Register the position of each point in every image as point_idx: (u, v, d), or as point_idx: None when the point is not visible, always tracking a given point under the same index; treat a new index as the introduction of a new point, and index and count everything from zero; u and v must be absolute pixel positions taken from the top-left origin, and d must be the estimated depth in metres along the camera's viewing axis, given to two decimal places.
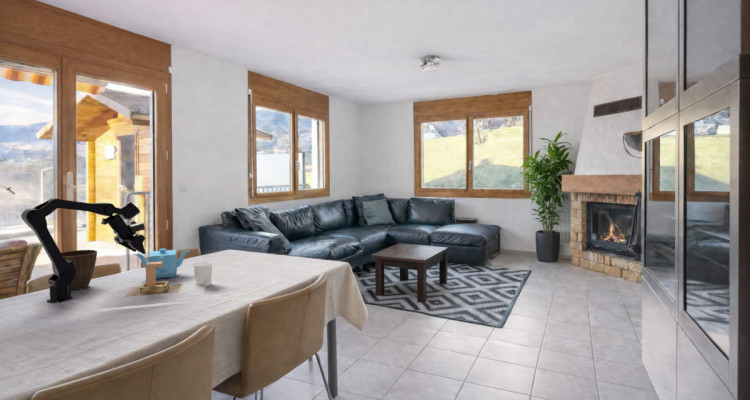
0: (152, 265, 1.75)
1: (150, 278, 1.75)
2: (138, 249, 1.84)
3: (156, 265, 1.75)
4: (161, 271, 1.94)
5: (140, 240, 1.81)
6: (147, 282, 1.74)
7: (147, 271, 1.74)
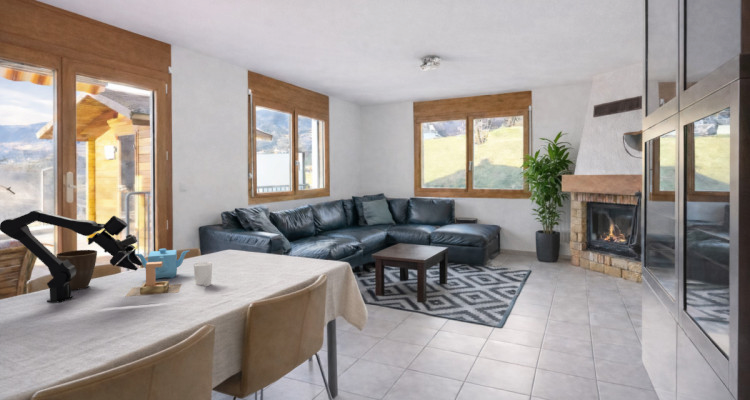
0: (152, 265, 1.75)
1: (150, 278, 1.75)
2: (125, 266, 1.68)
3: (156, 265, 1.75)
4: (161, 271, 1.94)
5: (119, 258, 1.64)
6: (147, 282, 1.74)
7: (147, 271, 1.74)
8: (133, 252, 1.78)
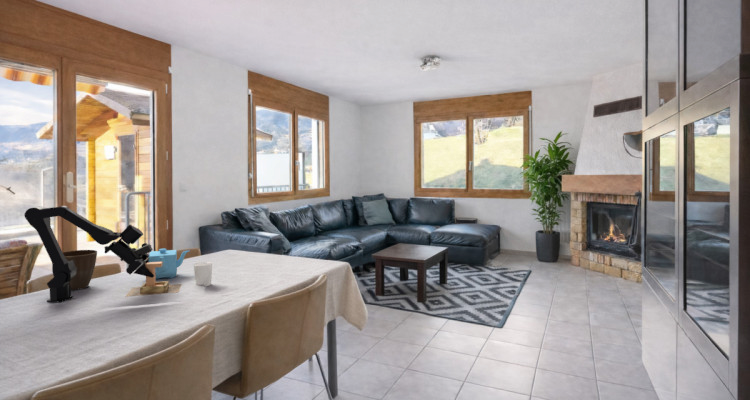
0: (152, 265, 1.75)
1: (150, 278, 1.75)
2: (142, 274, 1.72)
3: (156, 265, 1.75)
4: (161, 271, 1.94)
5: (135, 267, 1.66)
6: (147, 282, 1.74)
7: None
8: (147, 261, 1.78)
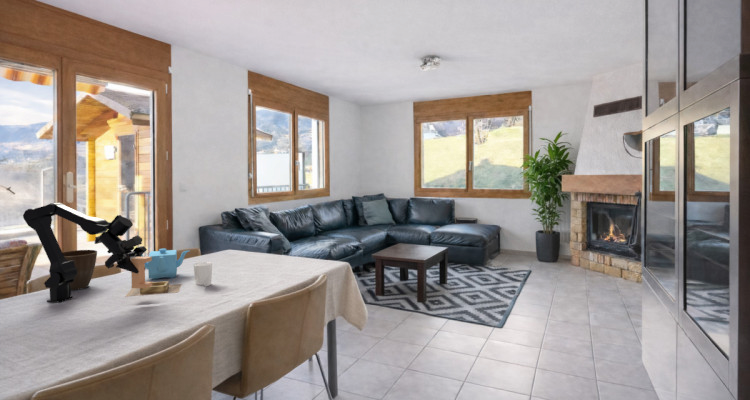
0: (137, 260, 1.61)
1: (135, 274, 1.62)
2: (126, 268, 1.60)
3: (141, 260, 1.61)
4: (161, 271, 1.94)
5: (112, 261, 1.54)
6: (133, 277, 1.62)
7: None
8: (137, 255, 1.66)
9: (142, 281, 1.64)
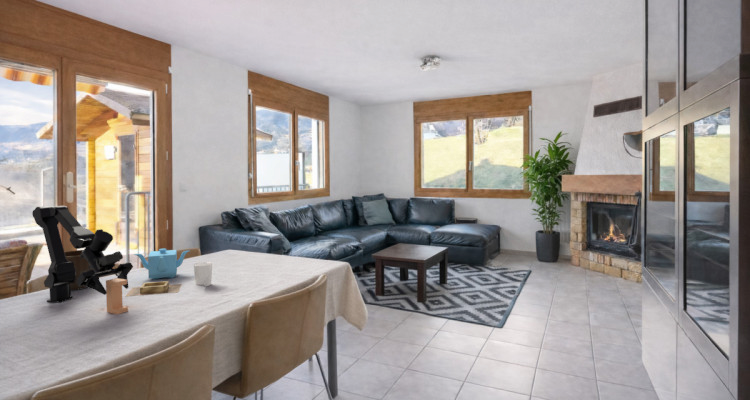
0: (110, 283, 1.50)
1: (109, 297, 1.51)
2: (95, 288, 1.48)
3: (113, 283, 1.49)
4: (161, 271, 1.94)
5: (81, 279, 1.45)
6: (107, 301, 1.51)
7: (107, 289, 1.51)
8: (122, 272, 1.57)
9: (118, 305, 1.53)
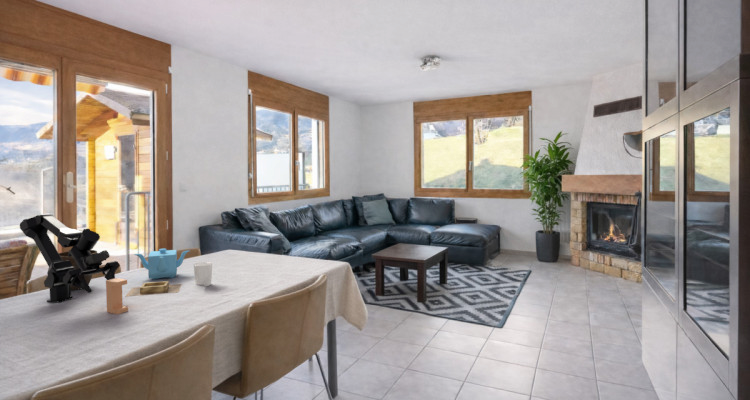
0: (110, 283, 1.50)
1: (109, 297, 1.51)
2: (80, 287, 1.51)
3: (113, 283, 1.49)
4: (161, 271, 1.94)
5: (67, 277, 1.48)
6: (107, 301, 1.51)
7: (107, 289, 1.51)
8: (110, 270, 1.60)
9: (118, 305, 1.53)
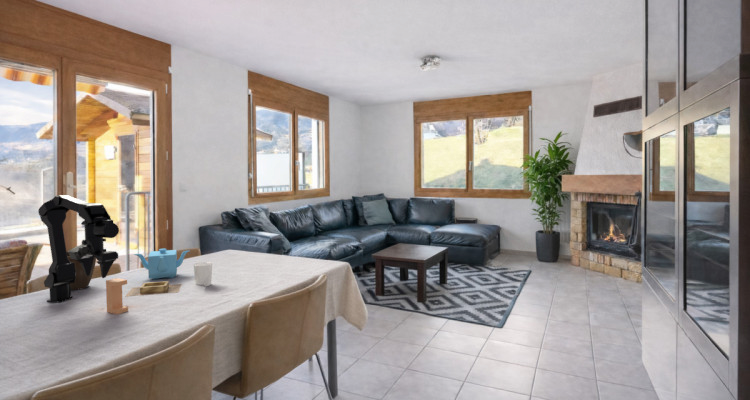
0: (110, 283, 1.50)
1: (109, 297, 1.51)
2: None
3: (113, 283, 1.49)
4: (161, 271, 1.94)
5: None
6: (107, 301, 1.51)
7: (107, 289, 1.51)
8: None
9: (118, 305, 1.53)
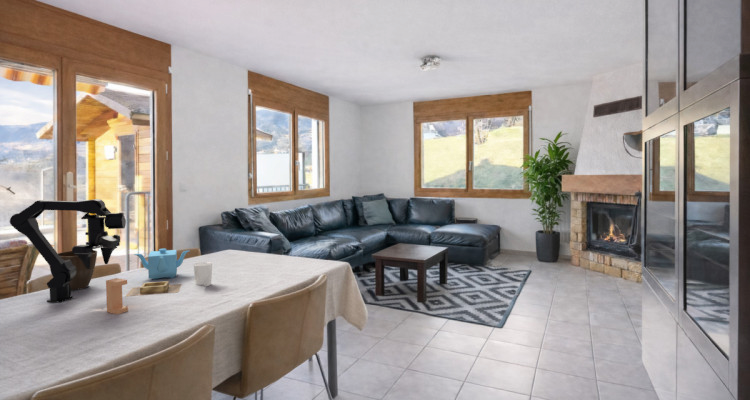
0: (110, 283, 1.50)
1: (109, 297, 1.51)
2: (82, 260, 1.63)
3: (113, 283, 1.49)
4: (161, 271, 1.94)
5: (79, 251, 1.59)
6: (107, 301, 1.51)
7: (107, 289, 1.51)
8: (110, 249, 1.74)
9: (118, 305, 1.53)
